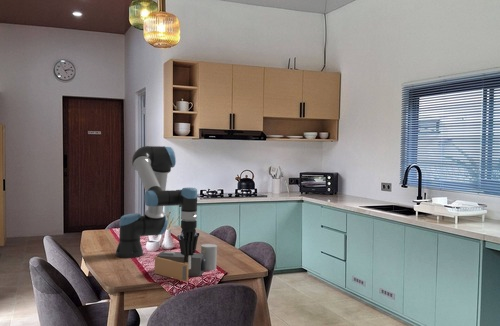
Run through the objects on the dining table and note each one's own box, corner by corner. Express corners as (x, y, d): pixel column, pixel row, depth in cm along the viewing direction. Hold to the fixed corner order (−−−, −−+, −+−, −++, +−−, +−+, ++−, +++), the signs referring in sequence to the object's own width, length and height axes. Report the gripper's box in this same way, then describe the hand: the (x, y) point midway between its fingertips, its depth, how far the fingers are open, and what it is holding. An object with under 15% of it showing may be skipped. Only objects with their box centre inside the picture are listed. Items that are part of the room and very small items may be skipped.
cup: (200, 266, 249) (201, 243, 249) (216, 266, 250) (216, 244, 249) (200, 270, 241) (201, 247, 241) (216, 270, 242) (217, 247, 241)
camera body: (156, 273, 232) (156, 254, 232) (162, 268, 242) (162, 249, 242) (203, 276, 229) (203, 256, 229) (207, 271, 239) (207, 252, 239)
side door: (153, 273, 230) (153, 257, 230) (155, 272, 232) (156, 256, 231) (185, 282, 217) (186, 265, 217) (188, 281, 219) (188, 264, 218)
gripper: (184, 222, 218) (183, 272, 219) (203, 219, 229) (202, 267, 229) (173, 220, 223) (172, 269, 223) (192, 217, 233) (191, 264, 234)
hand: (187, 268), depth 226 cm, fingers closed
